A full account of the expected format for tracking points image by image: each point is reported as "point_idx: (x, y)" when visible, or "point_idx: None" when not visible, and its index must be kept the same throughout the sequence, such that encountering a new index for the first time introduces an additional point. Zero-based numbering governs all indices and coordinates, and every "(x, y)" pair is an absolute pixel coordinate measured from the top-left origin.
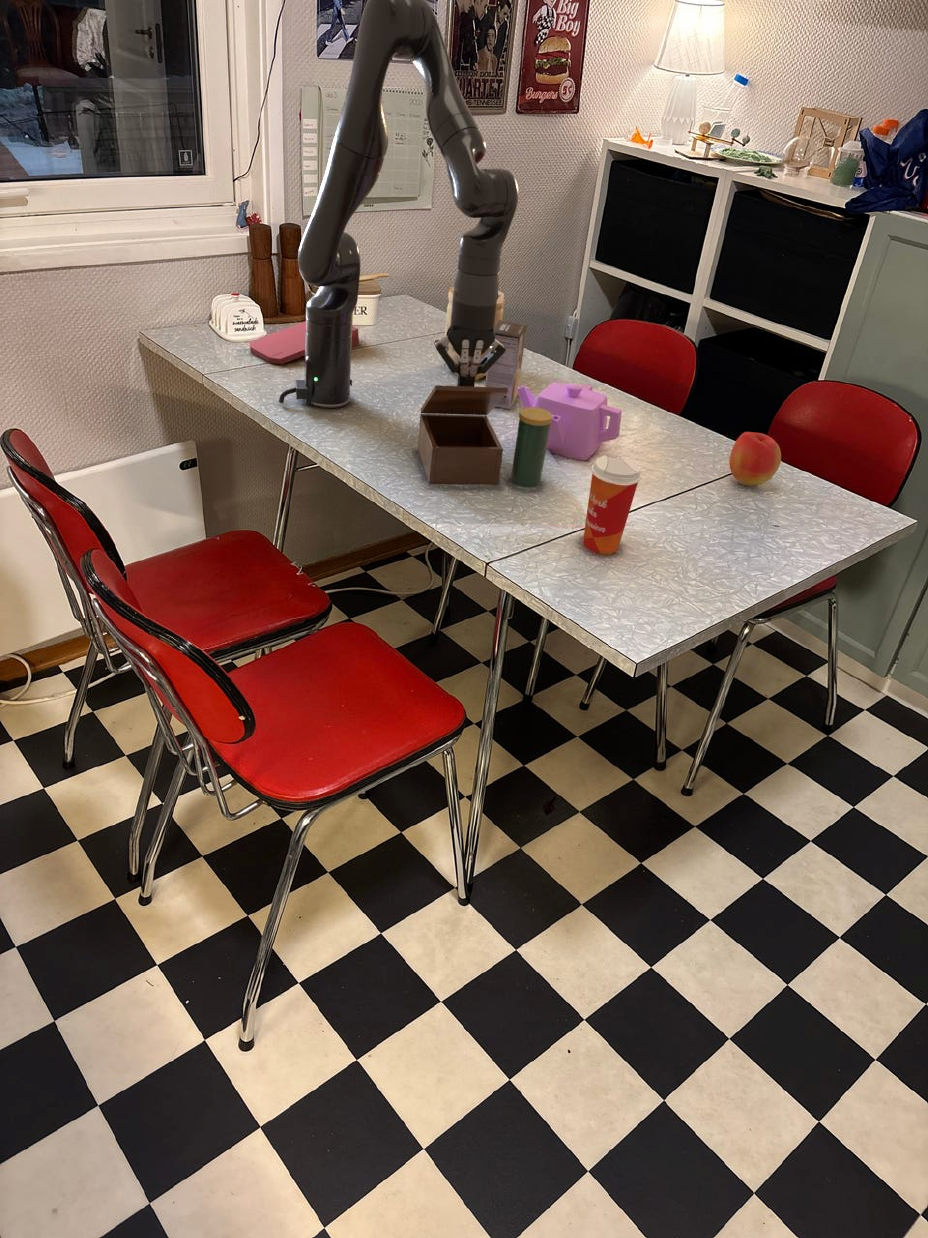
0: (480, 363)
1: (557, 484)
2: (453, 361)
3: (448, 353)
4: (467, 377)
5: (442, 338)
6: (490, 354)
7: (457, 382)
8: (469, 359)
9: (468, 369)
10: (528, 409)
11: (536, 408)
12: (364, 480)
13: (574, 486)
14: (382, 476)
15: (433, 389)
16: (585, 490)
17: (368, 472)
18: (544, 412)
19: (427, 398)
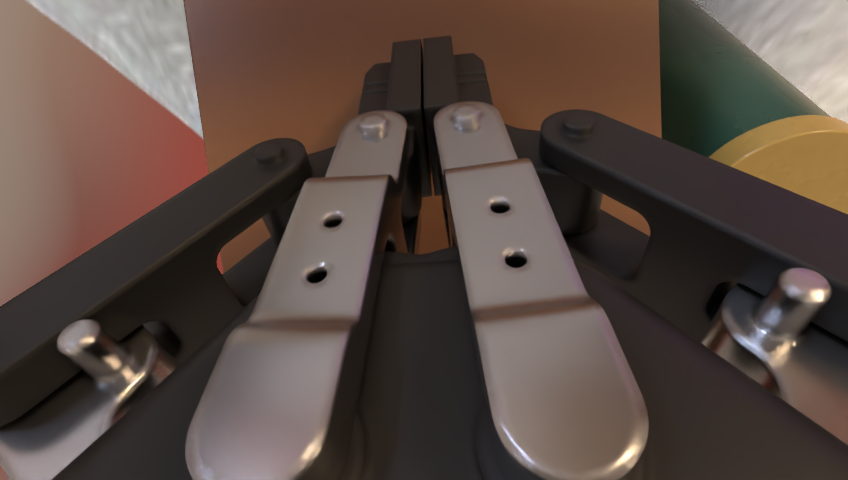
0: (567, 177)
1: (762, 24)
2: (278, 202)
3: (190, 256)
4: (428, 195)
5: (9, 472)
6: (691, 291)
7: (362, 93)
8: (446, 202)
9: (439, 172)
10: (770, 166)
11: (831, 146)
12: (135, 81)
13: (815, 31)
14: (177, 47)
15: (224, 266)
16: (833, 55)
17: (121, 25)
18: (839, 184)
19: (192, 54)
